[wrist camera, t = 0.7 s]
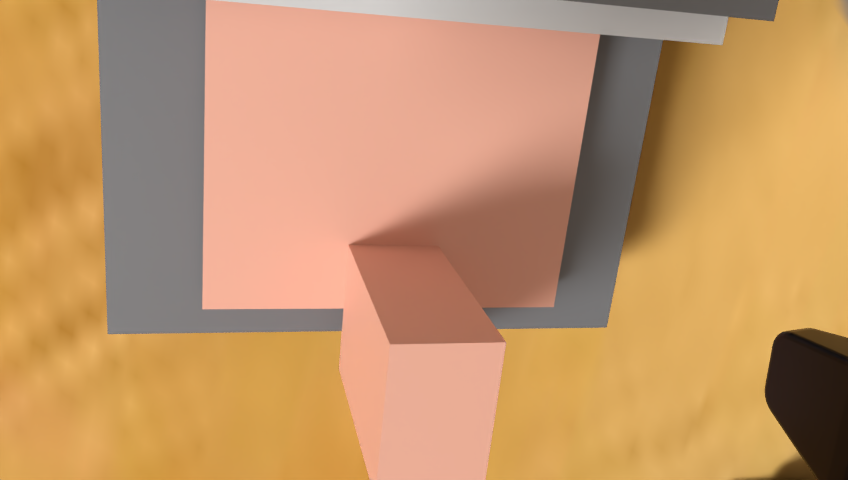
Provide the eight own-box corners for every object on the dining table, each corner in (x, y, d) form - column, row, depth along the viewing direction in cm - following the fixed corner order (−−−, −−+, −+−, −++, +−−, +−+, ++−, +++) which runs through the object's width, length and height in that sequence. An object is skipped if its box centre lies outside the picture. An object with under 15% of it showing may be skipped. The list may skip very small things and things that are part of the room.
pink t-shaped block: (535, 351, 20) (633, 481, 15) (202, 358, 18) (196, 510, 13) (669, -461, 15) (886, -652, 10) (213, -582, 13) (209, -895, 8)
